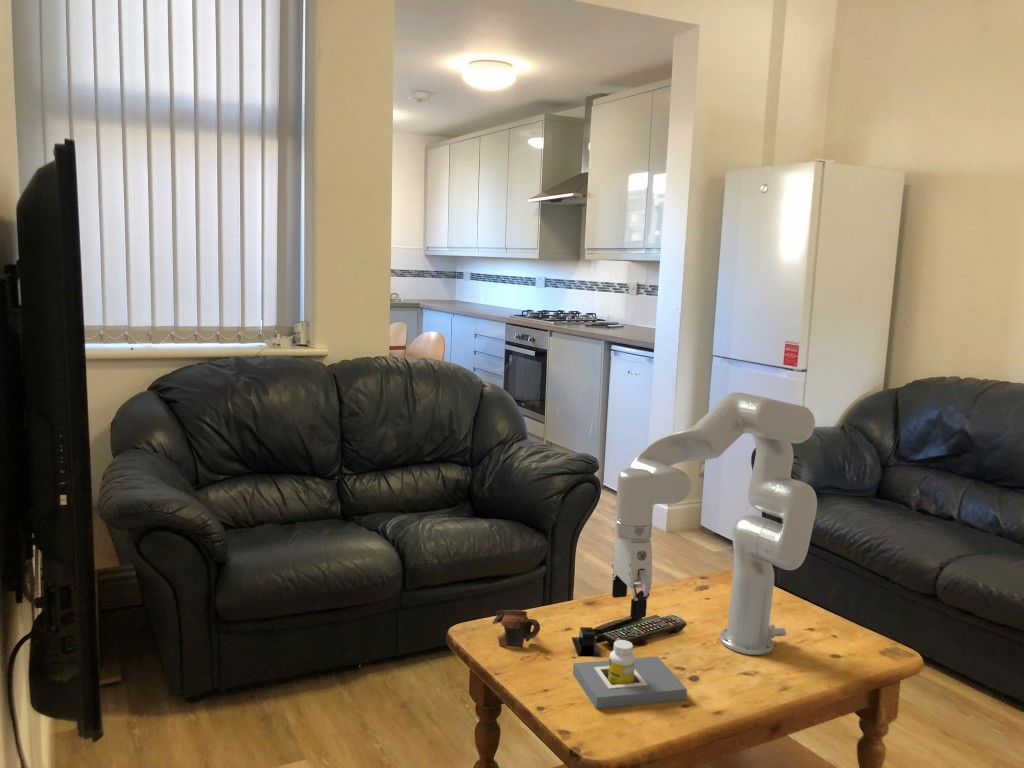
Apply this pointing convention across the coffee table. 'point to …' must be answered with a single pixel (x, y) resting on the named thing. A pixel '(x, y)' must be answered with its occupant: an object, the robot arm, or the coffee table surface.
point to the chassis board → (646, 688)
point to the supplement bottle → (621, 663)
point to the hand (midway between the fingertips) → (628, 606)
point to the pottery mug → (516, 627)
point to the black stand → (586, 643)
